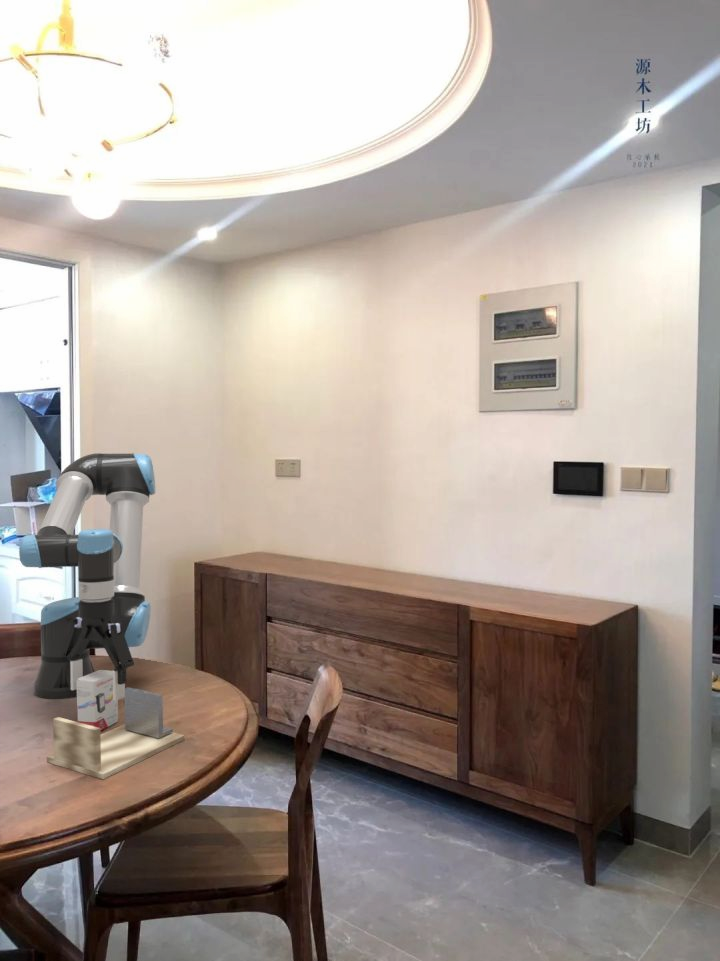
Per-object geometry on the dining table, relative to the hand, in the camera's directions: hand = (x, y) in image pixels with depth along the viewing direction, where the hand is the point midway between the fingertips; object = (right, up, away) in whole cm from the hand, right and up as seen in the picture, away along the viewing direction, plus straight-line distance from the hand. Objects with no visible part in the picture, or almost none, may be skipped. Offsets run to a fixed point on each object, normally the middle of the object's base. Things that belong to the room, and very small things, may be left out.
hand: (97, 693), depth 166 cm
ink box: (0, -8, 0) cm, 8 cm away
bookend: (+13, -7, -5) cm, 15 cm away
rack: (+9, -8, -13) cm, 17 cm away
